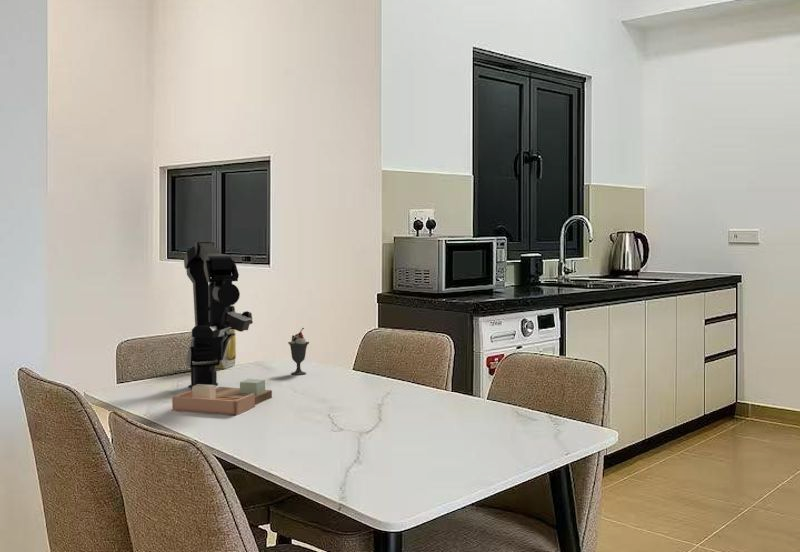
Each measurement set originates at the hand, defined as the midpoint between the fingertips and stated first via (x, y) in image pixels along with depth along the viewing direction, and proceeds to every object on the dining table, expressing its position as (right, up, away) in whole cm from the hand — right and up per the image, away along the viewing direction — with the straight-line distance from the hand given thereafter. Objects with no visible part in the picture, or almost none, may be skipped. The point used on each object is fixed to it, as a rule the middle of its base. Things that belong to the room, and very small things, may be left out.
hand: (220, 360), depth 211 cm
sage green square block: (+8, -9, +3) cm, 12 cm away
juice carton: (-12, -8, +54) cm, 56 cm away
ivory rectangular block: (-2, -8, -6) cm, 10 cm away
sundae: (+16, -9, +42) cm, 45 cm away
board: (+4, -11, +1) cm, 12 cm away
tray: (+1, -11, -9) cm, 15 cm away
